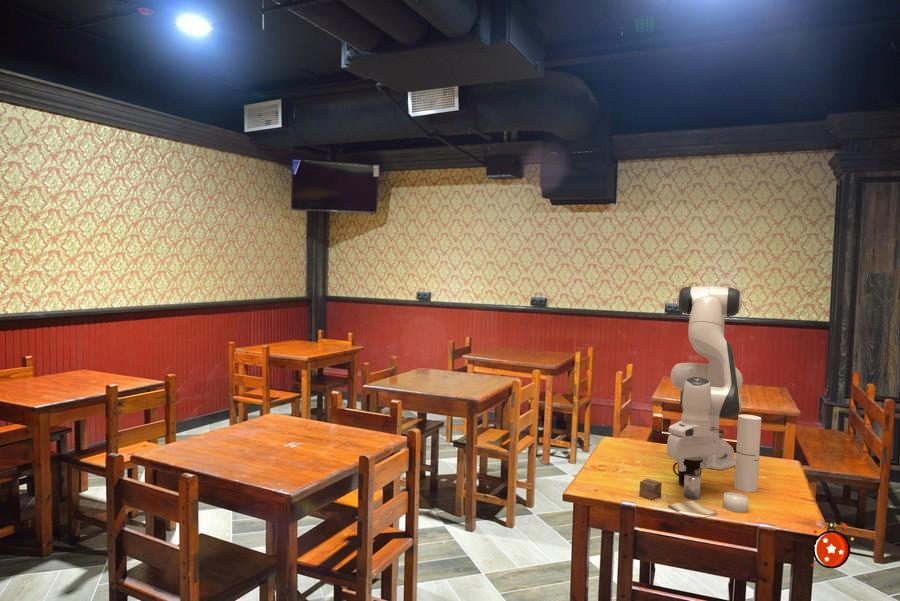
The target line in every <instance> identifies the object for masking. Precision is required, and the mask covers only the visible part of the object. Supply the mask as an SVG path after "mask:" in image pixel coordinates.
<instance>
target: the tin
mask: <svg viewBox="0 0 900 601" xmlns="http://www.w3.org/2000/svg"><path fill="white" fill-rule="evenodd" d="M701 482H702V477H701V476H698V475H695V474H685V477H684V486H683V497H684V498H685V499H687V500H690V499H691V500H690V501H698V499H699V500H700V499H701Z"/></svg>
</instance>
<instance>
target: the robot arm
mask: <svg viewBox="0 0 900 601" xmlns="http://www.w3.org/2000/svg"><path fill="white" fill-rule="evenodd" d="M676 304H677V307H678V310H679V311H680V312H681V314H682V313H683V314H685V315H689V320H688V330H687V331H688V333H687V334H688V335H687V336H688V340H689V342H690V344H691V346H692V348H693V350H694V351H695V352H696V353H697V354H698V355H701V356H702V357H703V358H706V359H707V361H708V362H709V363H702V362H701V363H699V362H681V363H676V364H675V365H674V366H673V367H672V369H671V372H670V379H671V383H672V384H673V386H674V387H675V388H676V389H677V390H679V391H680V395H679V396H680V397H679V399H680V400H679V405H680V407H681V408H682V413H681V417H680V418H681V420H678V421H677V422H675V423H673V424H671V425H669V427H668V433H669V435H668V437H667V443H666V444H667V445H666V454H667V456H668V457H669V458H671V459H673V460H675V461H676V462H677V463H678V464H677V466H678V465H679V471H681V472H683V471H686V466H684V463H683V461H684V458H691V457H700V456H702V457H703V458H704V459H703V461H702V462H701V463H700V468H702V470H707V469H714V470H720V471H722V470H726V469H729V468H732V467H735V466H736V457H735V451H734V448H733V446H732V445H731V444H729V443H728V442H727V441H726V440H725V439H724V438H723V435H727V429H724V428H720V418H724V419H727V420H731V419H733V418H735V417H737V416H738V415H740V414H741V410H742V397H741V395H740V394H741V393H740V390H741V388H742V386H743V383H744V379H743V374H742V373H741V371H740V370H739V368H737V367H736V363H735V362H736V361H735V357H734V350H733V346H732V344H731V342H729V341H727V340H726V338H725V317H727V319H728V318H730V317H734V316H736V315H738V314H740V312H739V311H741V309H742V305H743V298H742V294H741V291H739V289H737V288H735V287H724V286H715V285H710V286H707V285H705V286H704V285H703V286H701V285H700V286H683V287H681V288H680V290H679V292H678V294H677V297H676ZM722 434H723V435H722Z"/></svg>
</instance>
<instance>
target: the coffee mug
mask: <svg viewBox="0 0 900 601" xmlns="http://www.w3.org/2000/svg"><path fill="white" fill-rule="evenodd" d="M703 459H704V458H703V457H702V456H700V457H691V458H684V461H683V463H684V466H686V471H683V472H681V471H679V465H678V463H677V461H676V462H675V463H674V464H673V465H672V471H673V473H674V475H676V476H678V484H679V486H681V487H684V477H685V474H695V475H698V476H700V477H701V476H702V470H703V469H702V468H700V463H701V462H702V461H703ZM676 466H677V471H678V472H676V470H675V469H676Z"/></svg>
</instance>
